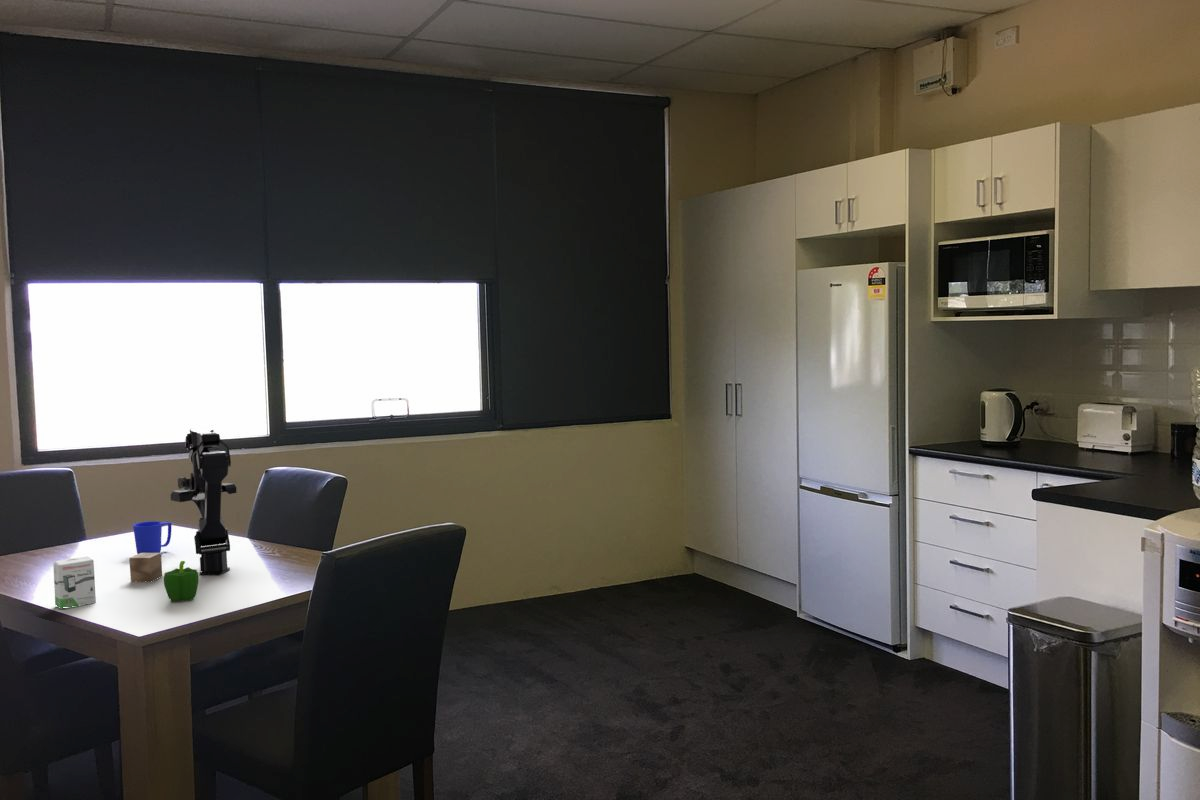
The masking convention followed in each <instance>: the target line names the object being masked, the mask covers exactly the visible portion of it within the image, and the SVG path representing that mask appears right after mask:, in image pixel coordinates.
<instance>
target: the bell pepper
mask: <svg viewBox="0 0 1200 800" xmlns="http://www.w3.org/2000/svg"><path fill="white" fill-rule="evenodd" d="M185 563H186V562H185V560H181V561H180V562H179V567H178V568H174V569H172V570H169V571H167V572H165V573H164V575H163V585H164V589H165V592H166V595H167V598H168V599H169V600H170V602H172V603H181V602H183V601H184V602H187V601H188V602H189V601H192V600H194V599H195V597H196V596H197V594H198V593H197V592H198V587H199V572H198V570H197V569H193V568H190V567H189V566H188V567H185V568H184V565H185Z"/></svg>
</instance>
